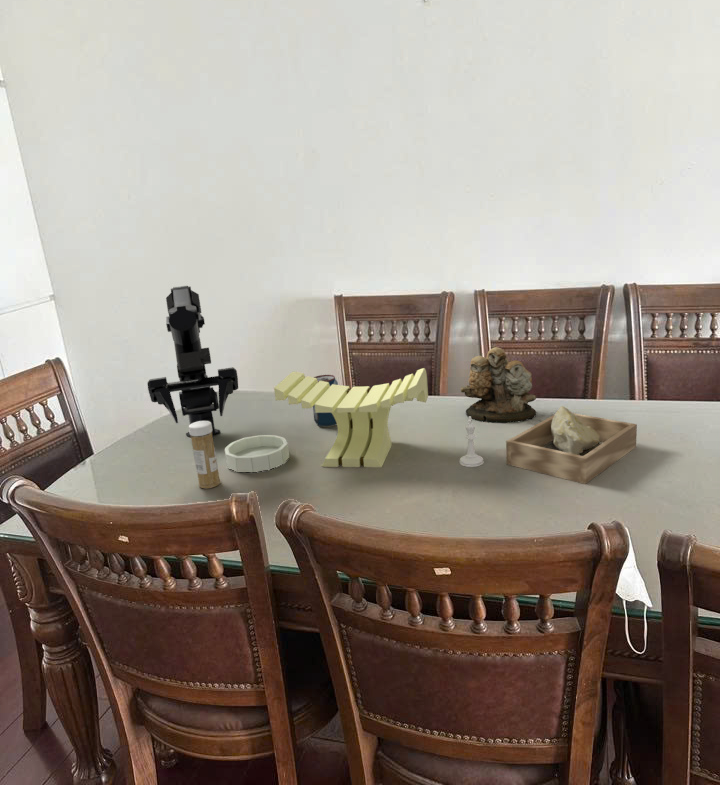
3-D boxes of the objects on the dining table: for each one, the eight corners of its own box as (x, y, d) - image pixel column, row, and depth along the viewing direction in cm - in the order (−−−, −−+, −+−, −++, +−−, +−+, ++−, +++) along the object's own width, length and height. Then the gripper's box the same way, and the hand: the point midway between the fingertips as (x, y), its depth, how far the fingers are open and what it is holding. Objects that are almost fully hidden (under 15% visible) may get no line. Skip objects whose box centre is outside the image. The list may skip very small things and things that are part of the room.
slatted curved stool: (430, 439, 153) (426, 364, 148) (421, 467, 138) (416, 384, 133) (305, 439, 160) (296, 367, 155) (283, 466, 145) (273, 387, 140)
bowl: (215, 464, 150) (212, 449, 149) (263, 445, 159) (261, 431, 158) (251, 478, 140) (249, 462, 139) (300, 457, 150) (299, 442, 149)
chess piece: (485, 458, 140) (483, 413, 137) (481, 467, 136) (479, 421, 133) (462, 457, 142) (460, 412, 139) (457, 466, 137) (455, 420, 134)
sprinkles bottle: (224, 484, 138) (214, 423, 135) (203, 491, 136) (192, 429, 132) (215, 478, 142) (206, 418, 138) (195, 484, 140) (185, 423, 136)
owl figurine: (459, 423, 163) (455, 354, 158) (464, 408, 173) (461, 343, 169) (536, 423, 158) (534, 352, 153) (536, 407, 169) (535, 341, 164)
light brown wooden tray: (506, 464, 136) (506, 441, 135) (561, 432, 151) (561, 410, 149) (585, 484, 124) (585, 459, 123) (636, 447, 139) (636, 424, 138)
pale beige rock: (564, 444, 149) (521, 415, 142) (588, 421, 147) (546, 390, 139) (599, 490, 137) (554, 460, 129) (626, 465, 134) (582, 434, 127)
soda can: (347, 420, 171) (342, 375, 168) (331, 429, 166) (326, 382, 162) (324, 417, 175) (320, 373, 172) (309, 426, 170) (304, 380, 166)
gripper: (140, 342, 139) (147, 407, 132) (230, 330, 144) (242, 392, 136) (148, 370, 149) (155, 432, 142) (232, 359, 153) (243, 418, 146)
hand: (199, 418), depth 141 cm, fingers open, 9 cm apart
